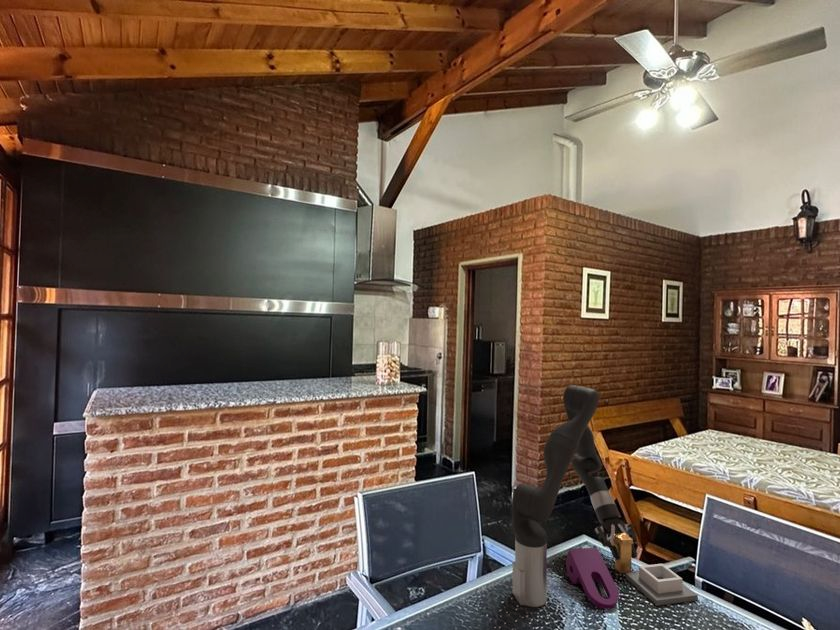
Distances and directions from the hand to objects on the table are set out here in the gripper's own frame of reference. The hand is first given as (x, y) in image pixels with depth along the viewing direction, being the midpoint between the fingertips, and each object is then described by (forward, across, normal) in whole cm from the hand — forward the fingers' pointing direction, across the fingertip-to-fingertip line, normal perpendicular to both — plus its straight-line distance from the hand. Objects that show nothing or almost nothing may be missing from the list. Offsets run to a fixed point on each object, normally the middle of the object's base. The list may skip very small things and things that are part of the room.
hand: (626, 558), depth 144 cm
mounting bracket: (+8, -16, -1) cm, 18 cm away
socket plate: (+10, +5, -3) cm, 12 cm away
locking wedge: (+2, 0, +5) cm, 5 cm away
